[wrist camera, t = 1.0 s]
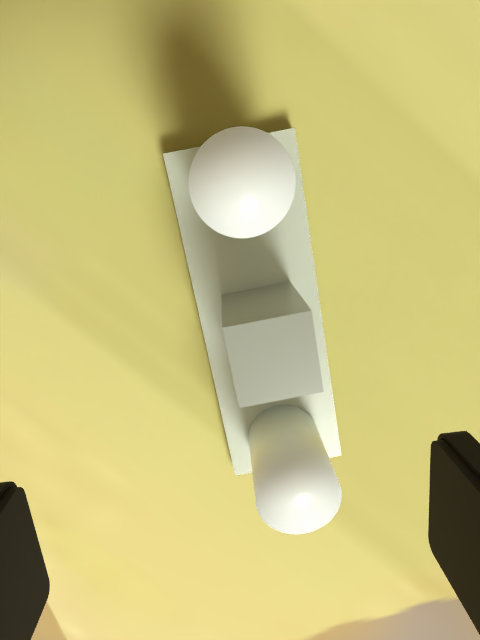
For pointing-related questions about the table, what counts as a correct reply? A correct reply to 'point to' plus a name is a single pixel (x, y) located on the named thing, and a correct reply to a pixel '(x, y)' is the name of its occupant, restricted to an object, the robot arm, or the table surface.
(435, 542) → the robot arm
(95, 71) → the table surface
